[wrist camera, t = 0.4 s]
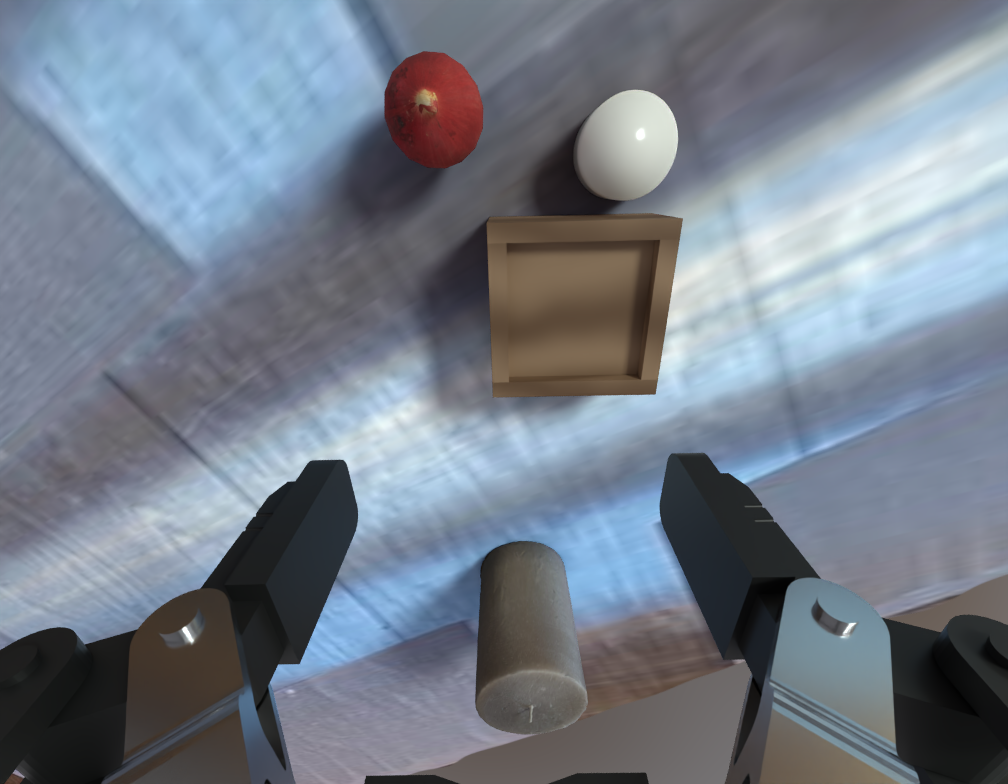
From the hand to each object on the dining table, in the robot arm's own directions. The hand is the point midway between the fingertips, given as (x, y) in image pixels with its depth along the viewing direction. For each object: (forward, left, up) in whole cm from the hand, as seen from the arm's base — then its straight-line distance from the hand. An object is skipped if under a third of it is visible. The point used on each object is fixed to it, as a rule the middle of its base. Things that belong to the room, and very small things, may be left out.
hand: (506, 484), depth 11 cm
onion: (-11, -4, -25) cm, 28 cm away
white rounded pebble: (-9, +8, -25) cm, 28 cm away
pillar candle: (+33, +1, -25) cm, 41 cm away
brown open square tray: (+1, +5, -25) cm, 26 cm away
